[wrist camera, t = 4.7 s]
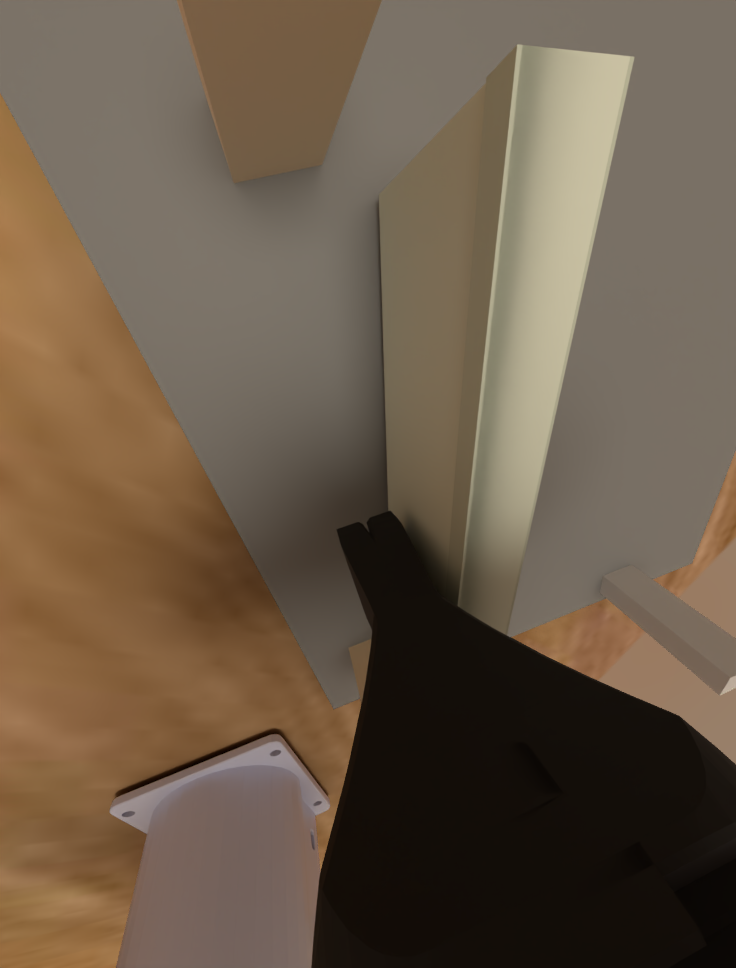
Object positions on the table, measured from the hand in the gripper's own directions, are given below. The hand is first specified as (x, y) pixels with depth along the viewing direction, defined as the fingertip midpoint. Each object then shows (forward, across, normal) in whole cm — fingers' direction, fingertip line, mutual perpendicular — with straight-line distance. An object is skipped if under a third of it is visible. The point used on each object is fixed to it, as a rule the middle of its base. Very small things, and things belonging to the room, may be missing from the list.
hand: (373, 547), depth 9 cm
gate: (+2, -2, 0) cm, 2 cm away
